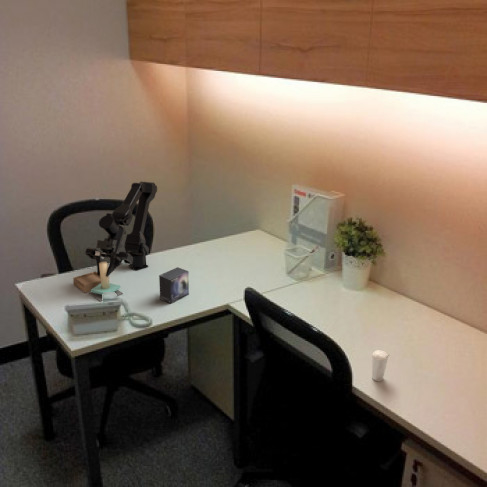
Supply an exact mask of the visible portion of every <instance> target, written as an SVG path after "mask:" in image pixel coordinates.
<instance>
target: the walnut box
mask: <svg viewBox="0 0 487 487" xmlns="http://www.w3.org/2000/svg"><path fill="white" fill-rule="evenodd" d="M72 282H73V286H75V287H76V288H77V289H78V290H80V291H81V292H83V293H84V294H87V293H90V292H91V289H93V288H94V287H96V286H98V285H99V284H101V279H100V275H97V270H95V271H91V272H88V273H85V274H81V275H78V276H74V277H73V278H72Z"/></svg>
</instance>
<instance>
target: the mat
mask: <svg viewBox="0 0 487 487" xmlns="http://www.w3.org/2000/svg"><path fill="white" fill-rule="evenodd" d="M88 293H89V295H90V296H91V297H92V298H94V299H96V300H97V301H98V302H103V301H102V295H101V294H97V293H93V292H88ZM115 293H116V294H117V296H116V297H118V296H119V297H120V296H122V295H123V294H124V293H123V292H122V291H120V290H119V289H118V290H116V291H115Z"/></svg>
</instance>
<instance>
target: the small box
mask: <svg viewBox="0 0 487 487" xmlns="http://www.w3.org/2000/svg"><path fill="white" fill-rule="evenodd" d="M189 274H190V272H189V271H188V270H186V269H183V268H180V267H178V266H177V267H175V268H172V269H171V270H170V269H169V270H168V271H166V272H164V273H161V274H159V275H158V277H159V278H158V281H159V300H161V301H163V302H166V303H168V304H170V305H171V304H173V303H175V302H177V301H178V300H181V299H183V298H186V297H187V296H189V295H190V289H189V287H190V286H189V285H190V284H189V283H190V281H189Z"/></svg>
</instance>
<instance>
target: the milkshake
mask: <svg viewBox="0 0 487 487" xmlns="http://www.w3.org/2000/svg"><path fill="white" fill-rule="evenodd" d="M371 357H372V360H371V361H372V362H371V363H372V367H371V369H372V370H371V378H372V380H373V381H375V382H383V380H384V377H385V372H386V368H387V363H388V359H389V357H390V354H387V352H385V351H384V350H381V349H380V350H379V349H377V350H375V351H373V352H372V356H371Z"/></svg>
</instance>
